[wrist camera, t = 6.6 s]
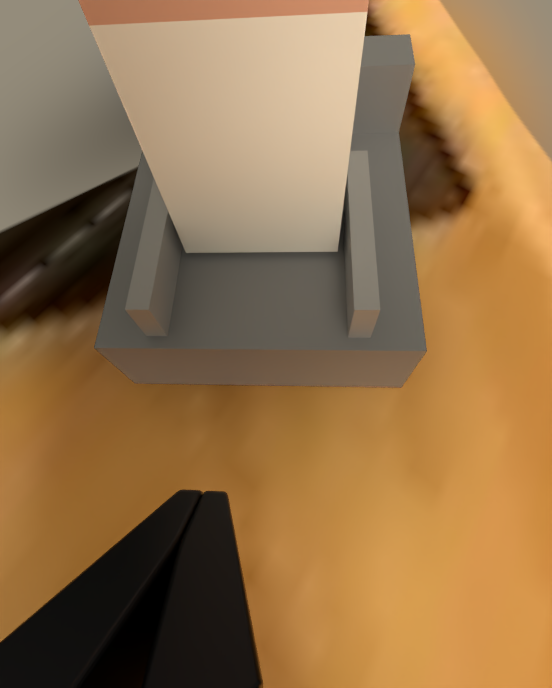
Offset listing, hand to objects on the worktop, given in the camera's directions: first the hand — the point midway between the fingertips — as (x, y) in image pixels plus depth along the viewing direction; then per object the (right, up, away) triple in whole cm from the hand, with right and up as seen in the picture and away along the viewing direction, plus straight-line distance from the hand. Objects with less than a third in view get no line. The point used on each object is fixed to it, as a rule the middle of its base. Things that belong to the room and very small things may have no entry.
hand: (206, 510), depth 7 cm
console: (+1, +7, +14) cm, 16 cm away
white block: (+1, +9, +10) cm, 13 cm away
